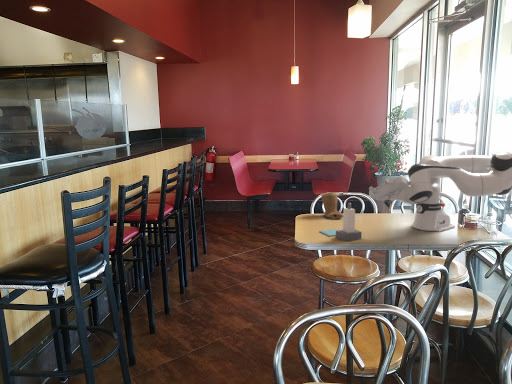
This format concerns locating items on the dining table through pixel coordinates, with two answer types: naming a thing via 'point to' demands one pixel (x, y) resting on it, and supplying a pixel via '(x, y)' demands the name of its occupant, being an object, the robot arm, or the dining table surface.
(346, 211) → the plug
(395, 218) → the dining table surface
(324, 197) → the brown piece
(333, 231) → the mat
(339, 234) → the grey socket block
